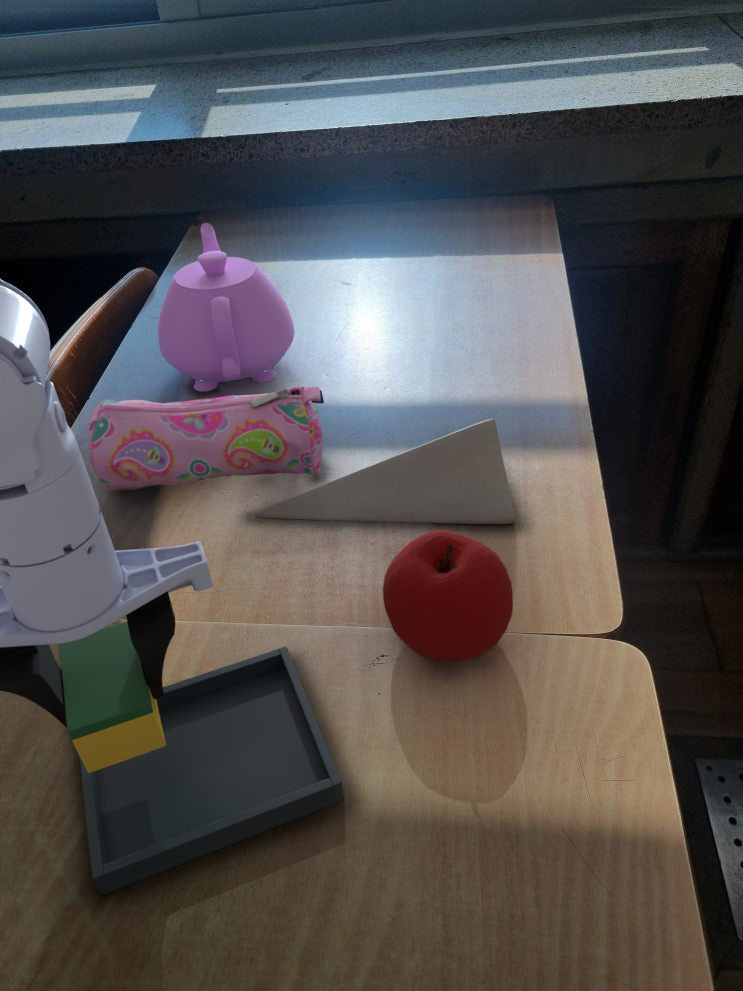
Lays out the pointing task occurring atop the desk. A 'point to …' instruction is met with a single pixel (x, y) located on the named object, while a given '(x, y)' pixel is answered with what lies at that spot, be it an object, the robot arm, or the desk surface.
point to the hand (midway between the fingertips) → (114, 699)
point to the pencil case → (206, 438)
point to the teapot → (223, 319)
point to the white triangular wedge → (417, 486)
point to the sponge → (108, 699)
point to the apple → (448, 596)
